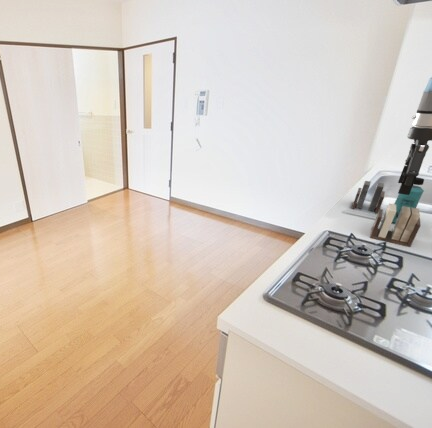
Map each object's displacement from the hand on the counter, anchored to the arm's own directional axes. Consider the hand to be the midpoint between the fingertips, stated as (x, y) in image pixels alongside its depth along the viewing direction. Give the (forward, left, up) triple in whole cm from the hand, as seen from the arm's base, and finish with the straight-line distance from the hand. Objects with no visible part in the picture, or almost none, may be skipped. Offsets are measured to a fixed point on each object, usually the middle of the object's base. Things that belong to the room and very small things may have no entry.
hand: (403, 188), depth 99 cm
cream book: (+1, 0, -19) cm, 19 cm away
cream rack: (-2, 0, -20) cm, 20 cm away
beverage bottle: (-4, -15, -20) cm, 25 cm away
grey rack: (+7, -24, -20) cm, 32 cm away
